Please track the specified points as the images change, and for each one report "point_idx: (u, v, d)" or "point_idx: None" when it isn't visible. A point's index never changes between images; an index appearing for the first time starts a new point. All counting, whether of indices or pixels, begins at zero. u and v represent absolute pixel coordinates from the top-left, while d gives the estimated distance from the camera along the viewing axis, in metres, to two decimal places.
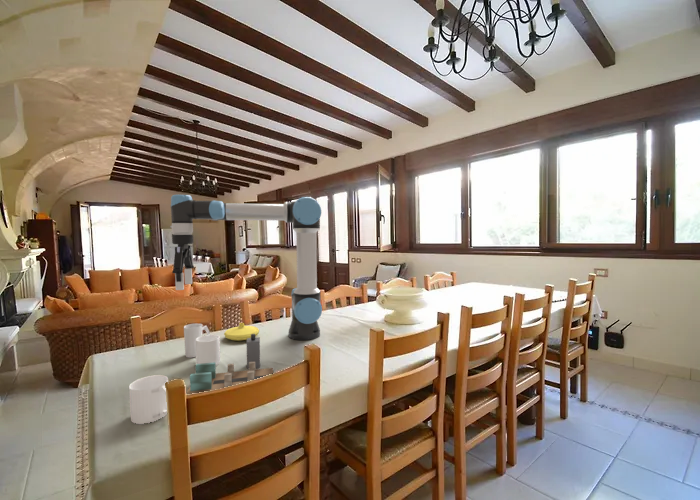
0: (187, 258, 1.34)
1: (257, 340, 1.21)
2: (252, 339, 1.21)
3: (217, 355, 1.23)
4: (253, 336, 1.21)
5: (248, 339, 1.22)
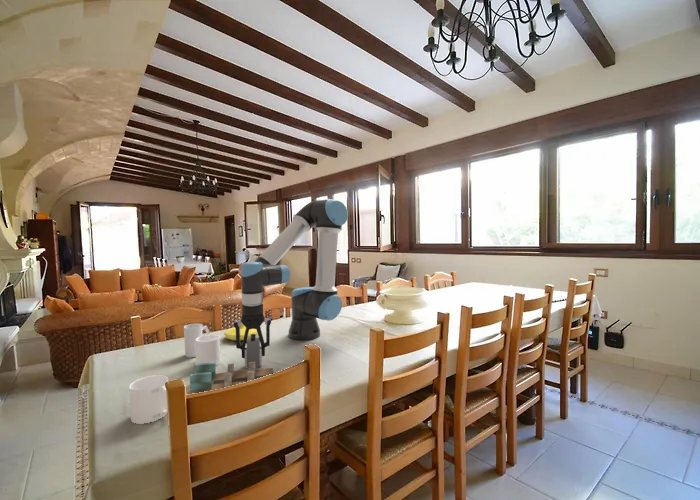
0: (257, 332, 1.21)
1: (257, 340, 1.21)
2: (252, 339, 1.21)
3: (217, 355, 1.23)
4: (253, 336, 1.21)
5: (248, 339, 1.22)
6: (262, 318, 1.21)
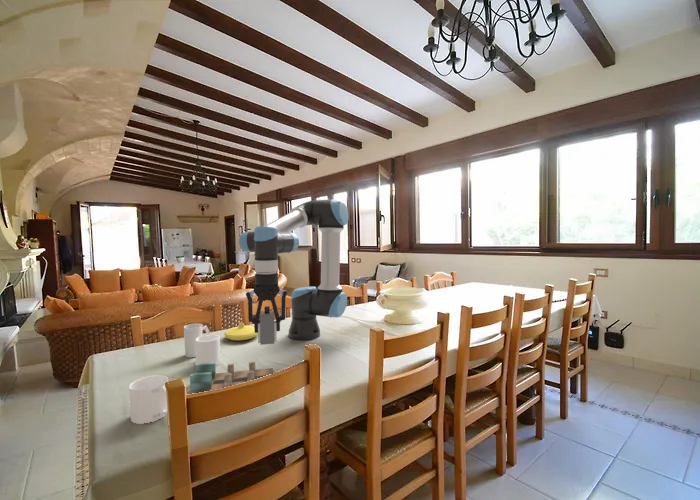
0: (272, 304, 1.09)
1: (271, 312, 1.09)
2: (266, 312, 1.09)
3: (217, 355, 1.23)
4: (267, 308, 1.09)
5: (261, 312, 1.10)
6: (277, 288, 1.09)
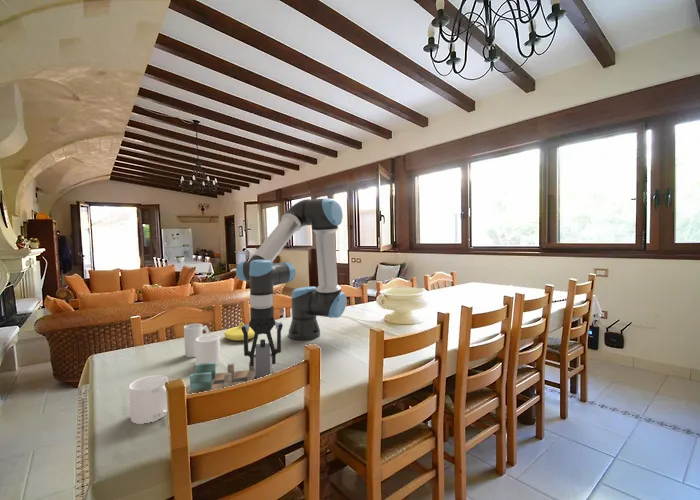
0: (267, 337, 1.09)
1: (267, 346, 1.10)
2: (262, 345, 1.09)
3: (217, 355, 1.23)
4: (263, 342, 1.09)
5: (257, 345, 1.10)
6: (273, 322, 1.09)
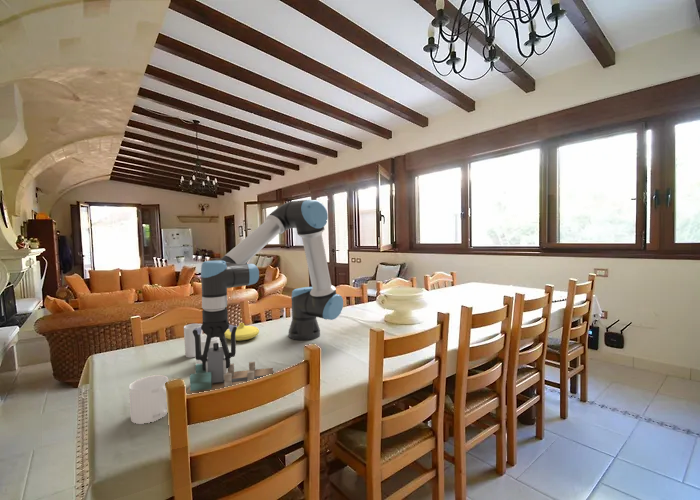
0: None
1: (220, 349, 1.06)
2: (214, 349, 1.06)
3: None
4: (216, 345, 1.06)
5: (210, 349, 1.07)
6: (226, 325, 1.06)
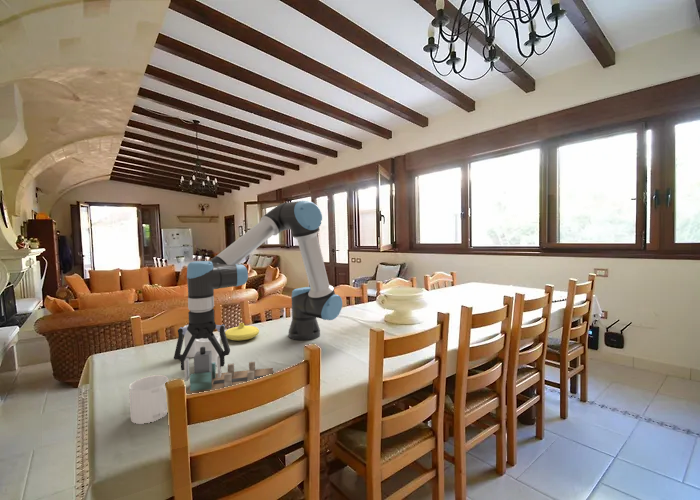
0: None
1: (207, 353, 1.05)
2: (201, 353, 1.05)
3: (217, 355, 1.23)
4: (202, 349, 1.05)
5: (197, 353, 1.06)
6: (212, 326, 1.05)
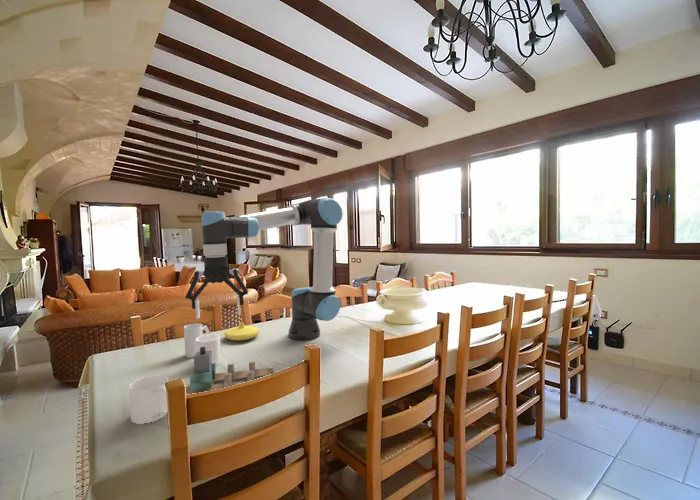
0: None
1: (207, 353, 1.05)
2: (201, 353, 1.05)
3: (217, 355, 1.23)
4: (202, 349, 1.05)
5: (197, 353, 1.06)
6: (226, 271, 1.13)
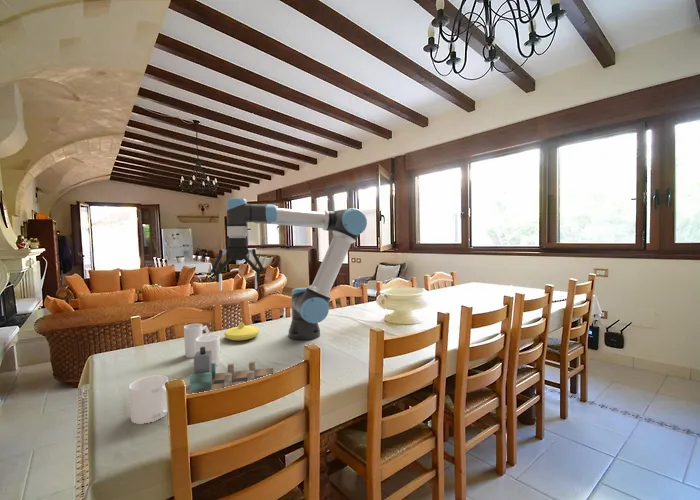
0: (247, 262, 1.31)
1: (207, 353, 1.05)
2: (201, 353, 1.05)
3: (217, 355, 1.23)
4: (202, 349, 1.05)
5: (197, 353, 1.06)
6: (246, 250, 1.31)
